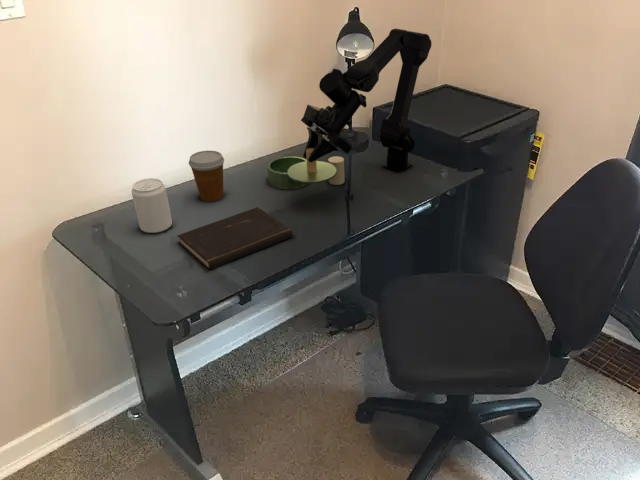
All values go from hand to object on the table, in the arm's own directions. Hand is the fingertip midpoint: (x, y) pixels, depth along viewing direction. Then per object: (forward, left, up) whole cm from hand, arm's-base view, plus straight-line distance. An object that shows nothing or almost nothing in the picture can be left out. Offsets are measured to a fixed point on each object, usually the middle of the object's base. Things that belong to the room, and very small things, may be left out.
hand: (306, 159), depth 161 cm
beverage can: (+35, -20, -13) cm, 43 cm away
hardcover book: (+26, +1, -13) cm, 29 cm away
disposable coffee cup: (+15, -23, -13) cm, 31 cm away
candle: (-15, -3, -13) cm, 20 cm away
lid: (-1, 0, -4) cm, 4 cm away
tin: (-6, -14, -13) cm, 20 cm away
